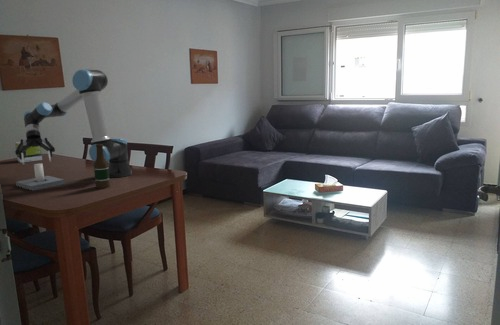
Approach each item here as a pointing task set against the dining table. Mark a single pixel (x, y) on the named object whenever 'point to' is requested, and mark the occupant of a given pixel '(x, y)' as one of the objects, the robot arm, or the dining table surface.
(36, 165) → the peg
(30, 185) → the socket plate
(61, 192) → the dining table surface
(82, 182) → the dining table surface
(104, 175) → the beer bottle
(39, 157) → the tea box
